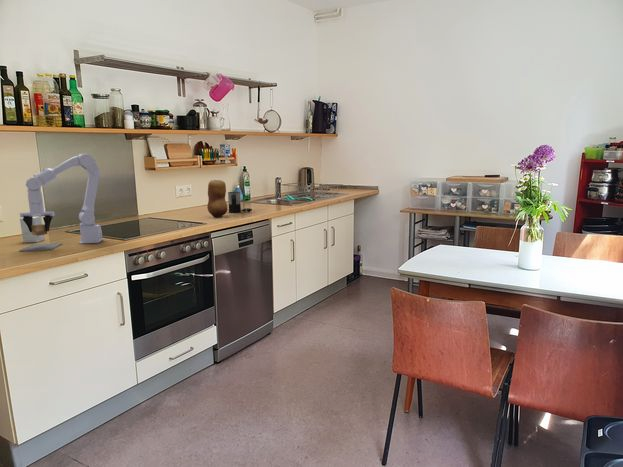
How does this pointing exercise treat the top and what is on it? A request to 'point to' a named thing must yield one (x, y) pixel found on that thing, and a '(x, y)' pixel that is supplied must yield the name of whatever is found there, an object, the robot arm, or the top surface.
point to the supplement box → (28, 235)
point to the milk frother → (235, 203)
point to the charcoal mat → (41, 247)
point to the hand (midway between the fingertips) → (39, 231)
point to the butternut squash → (217, 198)
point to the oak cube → (38, 229)
